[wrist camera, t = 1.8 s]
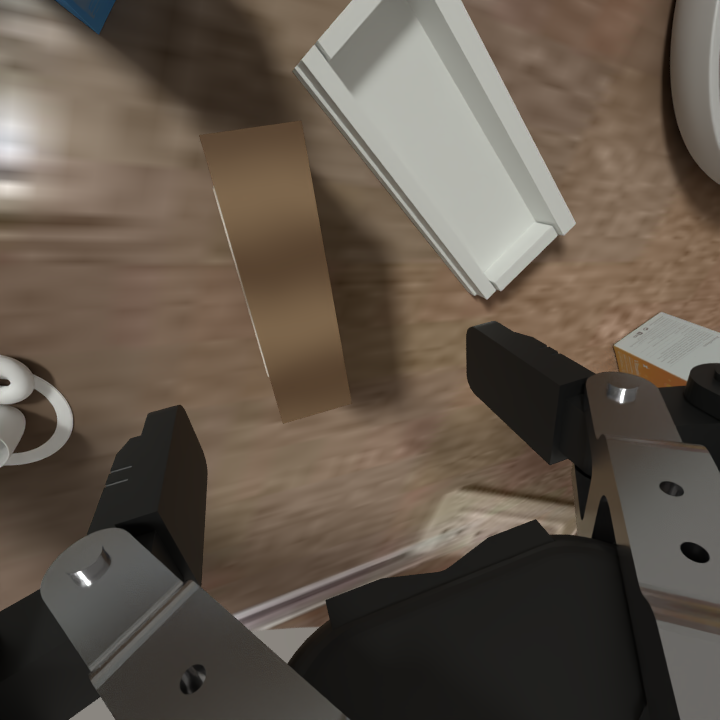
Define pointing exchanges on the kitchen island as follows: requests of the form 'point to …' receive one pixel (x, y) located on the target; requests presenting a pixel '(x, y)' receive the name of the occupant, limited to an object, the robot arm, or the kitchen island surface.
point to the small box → (667, 350)
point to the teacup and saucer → (7, 423)
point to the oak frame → (281, 262)
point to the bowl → (697, 80)
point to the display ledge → (439, 134)
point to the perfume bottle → (89, 11)
